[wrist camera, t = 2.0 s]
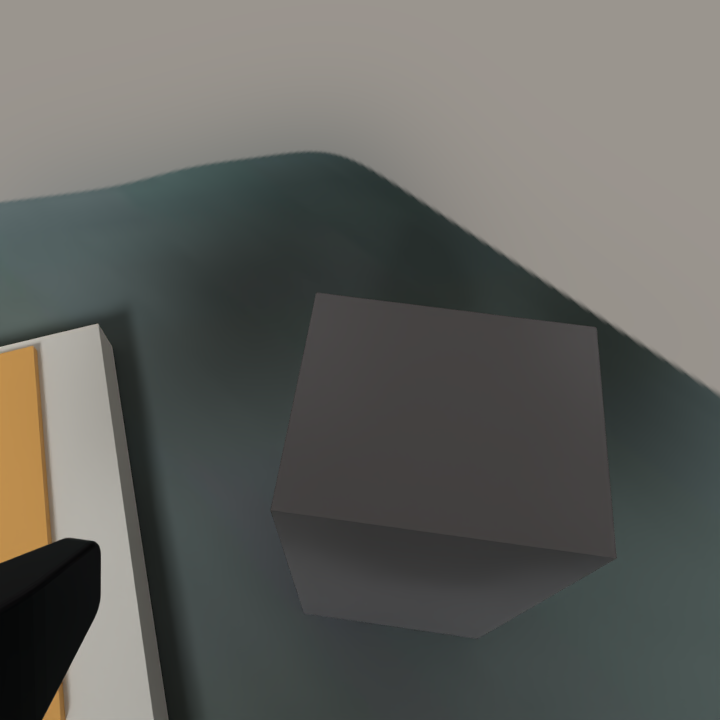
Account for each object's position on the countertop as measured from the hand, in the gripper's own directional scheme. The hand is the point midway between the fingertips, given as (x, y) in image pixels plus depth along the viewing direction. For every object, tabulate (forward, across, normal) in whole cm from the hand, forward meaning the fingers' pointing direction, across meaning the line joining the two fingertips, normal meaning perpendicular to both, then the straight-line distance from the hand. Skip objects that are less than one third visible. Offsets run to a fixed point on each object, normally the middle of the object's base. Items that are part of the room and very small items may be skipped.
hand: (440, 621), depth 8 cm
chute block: (+10, 0, +5) cm, 11 cm away
